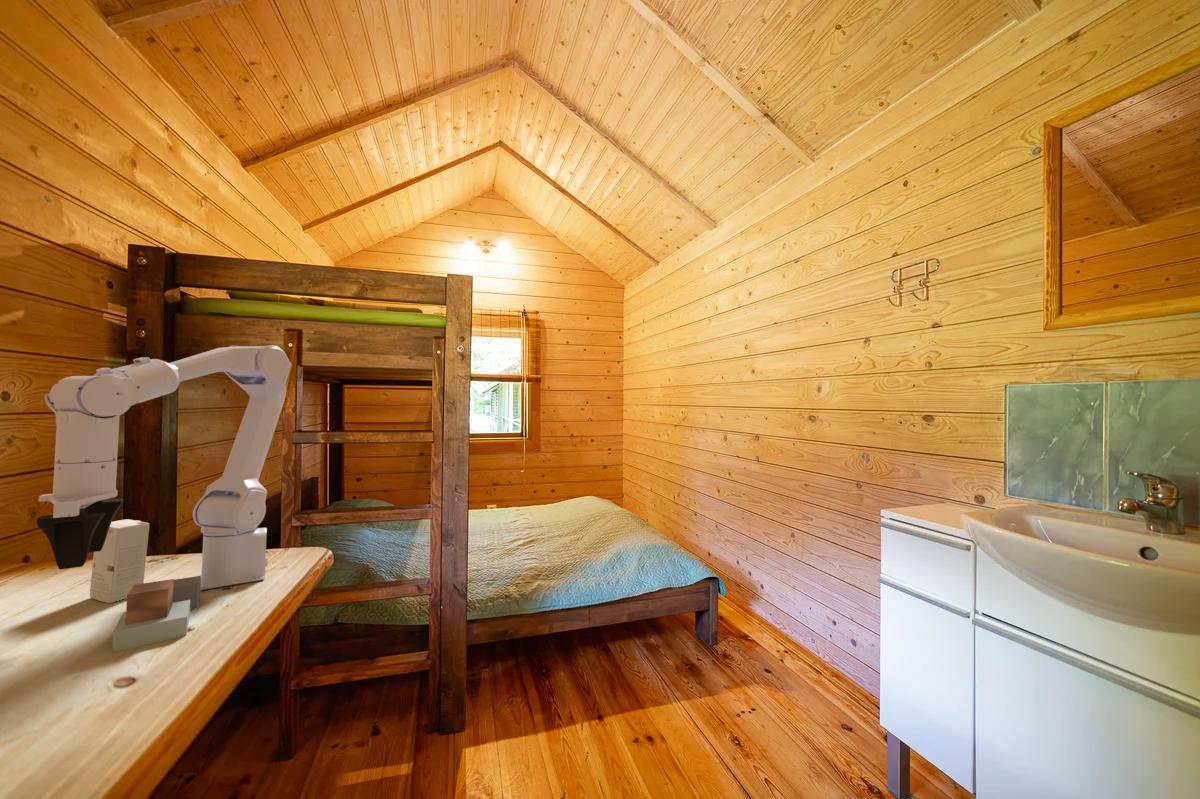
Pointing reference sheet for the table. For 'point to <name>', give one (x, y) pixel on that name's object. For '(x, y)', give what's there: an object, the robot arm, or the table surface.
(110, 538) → the skincare box
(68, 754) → the table surface
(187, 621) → the base block
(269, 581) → the table surface
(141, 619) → the walnut cube
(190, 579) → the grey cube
